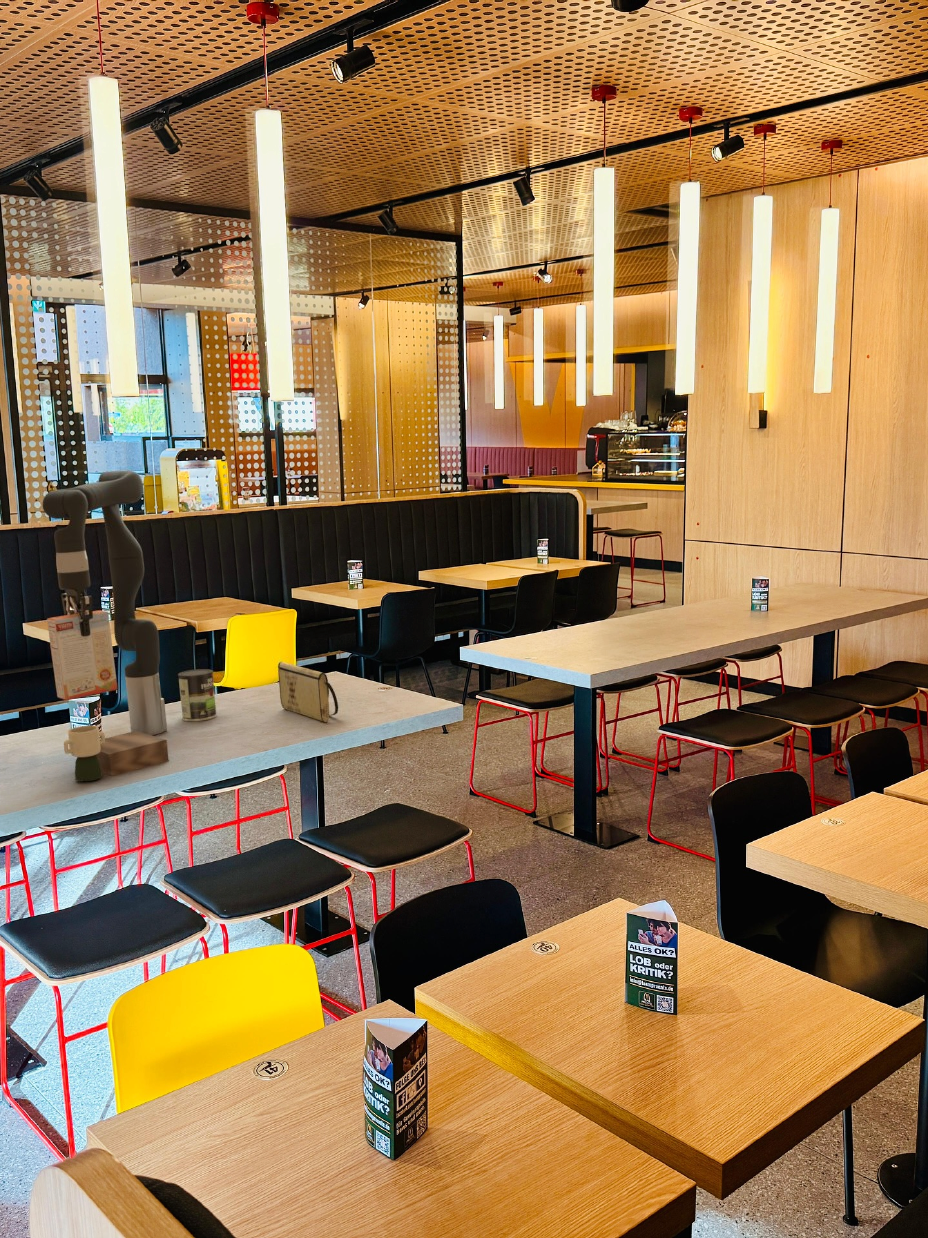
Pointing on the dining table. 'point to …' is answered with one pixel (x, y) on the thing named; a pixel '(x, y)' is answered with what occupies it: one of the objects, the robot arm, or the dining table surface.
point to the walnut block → (131, 752)
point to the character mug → (85, 751)
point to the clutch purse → (305, 691)
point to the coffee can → (197, 695)
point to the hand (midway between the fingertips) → (80, 634)
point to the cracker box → (82, 656)
